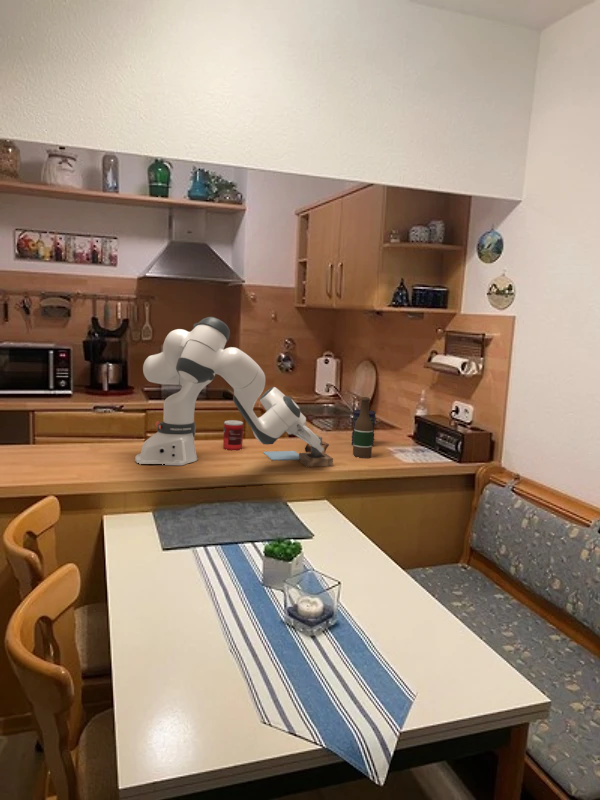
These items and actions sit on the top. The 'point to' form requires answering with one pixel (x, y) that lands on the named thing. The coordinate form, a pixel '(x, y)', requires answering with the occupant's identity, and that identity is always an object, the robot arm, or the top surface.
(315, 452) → the plug
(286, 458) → the mat
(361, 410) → the beer bottle
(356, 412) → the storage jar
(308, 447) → the sunglasses case
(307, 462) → the socket
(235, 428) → the canned food
